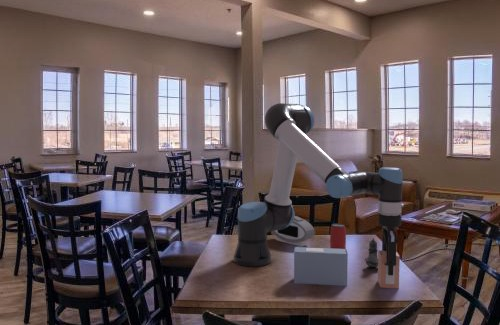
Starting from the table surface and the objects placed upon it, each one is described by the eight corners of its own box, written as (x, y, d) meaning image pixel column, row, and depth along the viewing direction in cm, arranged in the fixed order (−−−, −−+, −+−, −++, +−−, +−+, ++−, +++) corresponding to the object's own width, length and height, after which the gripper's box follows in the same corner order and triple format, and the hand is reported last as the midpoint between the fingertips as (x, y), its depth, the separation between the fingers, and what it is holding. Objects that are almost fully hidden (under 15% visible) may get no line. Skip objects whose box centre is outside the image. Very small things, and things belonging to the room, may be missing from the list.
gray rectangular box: (293, 283, 145) (294, 251, 145) (294, 277, 151) (295, 246, 150) (347, 286, 143) (347, 253, 142) (345, 280, 149) (346, 248, 148)
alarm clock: (269, 239, 206) (269, 213, 205) (278, 236, 210) (278, 211, 209) (306, 248, 189) (306, 220, 188) (314, 246, 193) (314, 218, 192)
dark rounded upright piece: (364, 270, 159) (364, 239, 158) (365, 265, 164) (365, 235, 163) (380, 272, 157) (380, 240, 156) (381, 267, 162) (381, 237, 161)
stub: (380, 287, 141) (380, 254, 140) (377, 281, 147) (378, 249, 146) (398, 288, 140) (399, 255, 139) (395, 282, 146) (396, 250, 145)
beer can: (336, 255, 179) (336, 227, 178) (327, 251, 185) (327, 224, 184) (348, 253, 181) (349, 225, 181) (339, 249, 187) (339, 222, 187)
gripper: (407, 219, 132) (405, 291, 133) (396, 208, 150) (394, 271, 152) (382, 219, 133) (380, 290, 135) (374, 207, 151) (373, 270, 153)
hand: (388, 280), depth 143 cm, fingers closed on stub, 6 cm apart
